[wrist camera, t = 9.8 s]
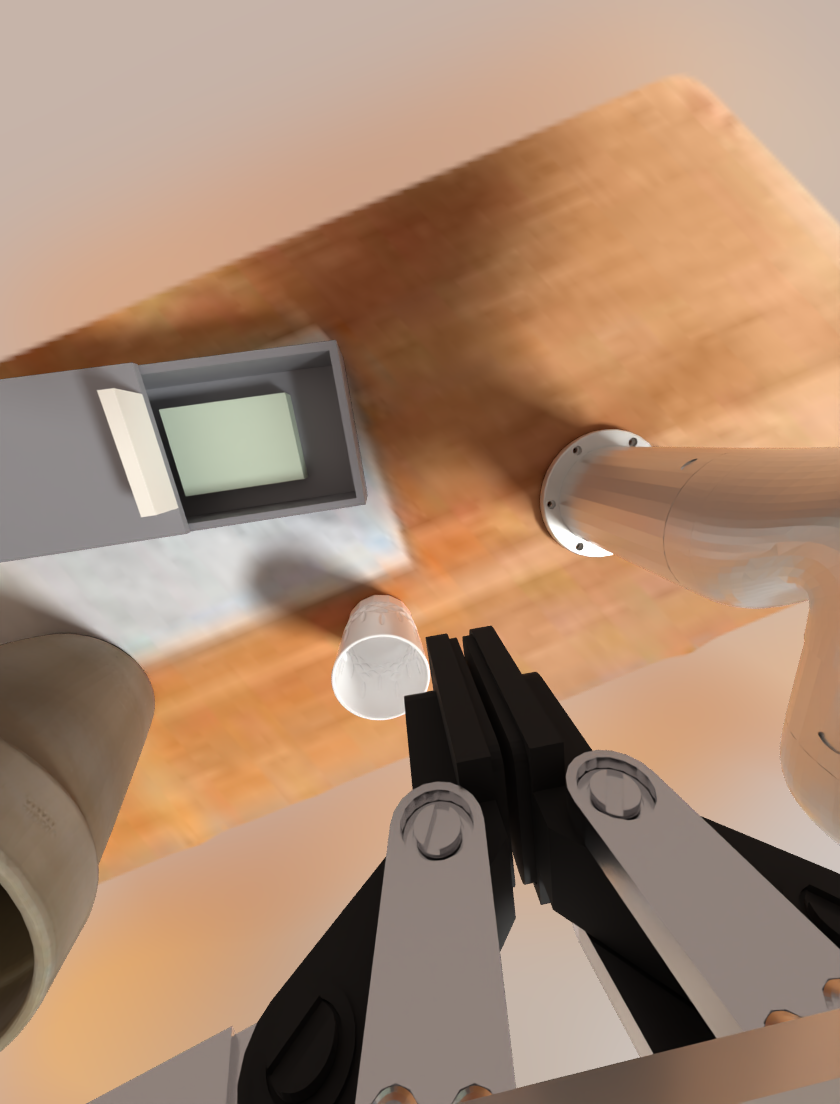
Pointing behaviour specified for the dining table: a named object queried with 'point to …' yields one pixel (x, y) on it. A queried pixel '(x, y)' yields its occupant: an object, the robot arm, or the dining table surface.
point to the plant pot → (58, 798)
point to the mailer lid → (82, 464)
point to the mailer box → (258, 433)
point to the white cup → (379, 659)
